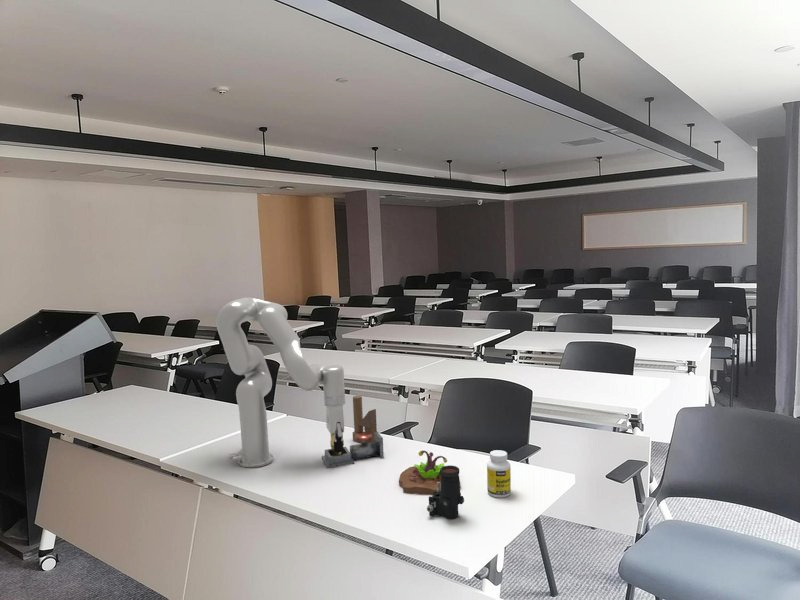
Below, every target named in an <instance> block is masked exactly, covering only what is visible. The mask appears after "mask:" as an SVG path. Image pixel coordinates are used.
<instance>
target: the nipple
mask: <svg viewBox="0 0 800 600" xmlns="http://www.w3.org/2000/svg"><path fill="white" fill-rule="evenodd" d="M329 433H330V432H329ZM335 433H337V431H335ZM343 433H344V432H343ZM343 433H342V439H343V446H344V445H345V442H344V440H345V439H344V434H343ZM337 436H338V434H336V437H337ZM334 441H335V440H334V433H333V434H331V433H330V449H331V453H332V455H333V456H334V455H340V454H344V448H343V451H342V452H336V453H335V452H334Z"/></svg>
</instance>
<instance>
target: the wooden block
mask: <svg viewBox="0 0 800 600" xmlns="http://www.w3.org/2000/svg"><path fill="white" fill-rule="evenodd" d="M352 408H353V409H352V410H353V412H352V414H353V429H354V431H353V432H352V441H353V442H357V443H359V444H362V440H357V439H356V435H357V434H359V433H370V434H372V438H371V439H369V440H366V443H370V442H375V439H374V432H378V431H377V430H378V428H377V426H378V424H377V409H376V408H374V409H370V410H369V411H368V412H367V413H366V414H365V416H364V415H363V397H362V396H361V395H353V396H352Z"/></svg>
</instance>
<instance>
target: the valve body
mask: <svg viewBox="0 0 800 600" xmlns="http://www.w3.org/2000/svg"><path fill="white" fill-rule="evenodd" d="M371 438H372V434H370V433H359V434H357V435H356V439H357V440H362V443H359V444H351V445H349V449H348V448H347V446H343V448H344V454H340V455H334V456H333V455H332V453H331V448H328V449H324V455H322V456H321V459H322V462H323V464H324V465H325V468H326V469H331V468H337V467H344V466H350V465H355V463H356V462H355V460H358V459H363V458H370V457H377V456H378V457H379V458H380V459H384V457H385V455H384V454H385V453H384V438H383V436H382V435H381V434H380V433H379V432H378V431H377V432H374V439H375V442H370V443H366V440H369V439H371Z"/></svg>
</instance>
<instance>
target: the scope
mask: <svg viewBox="0 0 800 600" xmlns="http://www.w3.org/2000/svg"><path fill="white" fill-rule="evenodd" d="M440 474H441V487H440V482H437V490H435V491H434V492H433V495H431V496H430V495H429V496H428V505H427V507H426V510H427V512H429V513H428V514H429V516H430V517H435V516H438V517H442V518H445V519H447V520H456V519H458V518H459V505H463V504H464V502H465V497H464V496H463V495H462V494H461V493H462V492H461V481H460V468H459V467H458V466H456V465H444V467H442V468H441V469H440ZM440 488H441V489H440ZM440 490H441V491H440Z"/></svg>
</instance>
